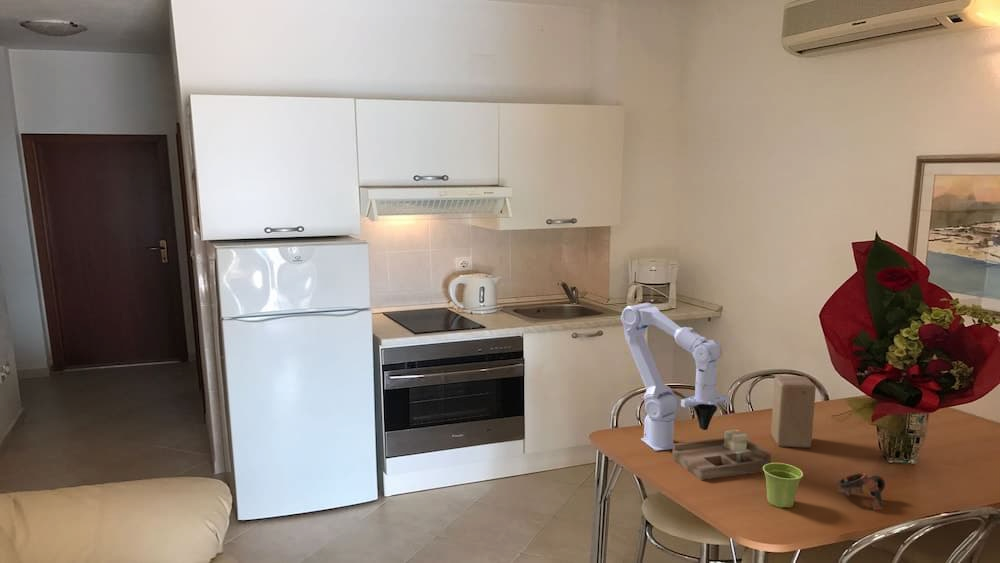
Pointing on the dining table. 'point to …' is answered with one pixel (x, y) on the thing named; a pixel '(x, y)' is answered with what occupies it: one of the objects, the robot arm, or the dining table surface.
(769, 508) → the dining table surface
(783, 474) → the plant pot
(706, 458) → the trap box
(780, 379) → the wooden block
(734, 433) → the maple block
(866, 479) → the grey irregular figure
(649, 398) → the robot arm
